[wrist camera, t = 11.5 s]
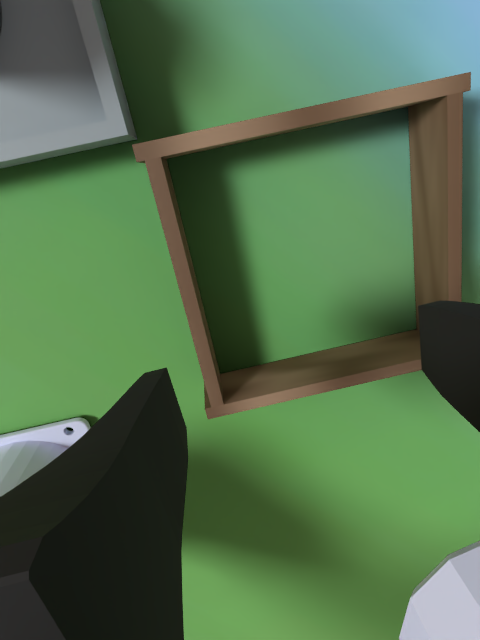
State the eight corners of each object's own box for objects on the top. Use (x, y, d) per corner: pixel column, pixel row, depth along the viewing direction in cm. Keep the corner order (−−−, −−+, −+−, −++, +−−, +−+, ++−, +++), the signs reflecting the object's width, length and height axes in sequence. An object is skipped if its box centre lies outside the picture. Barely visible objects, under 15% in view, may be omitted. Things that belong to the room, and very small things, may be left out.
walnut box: (206, 387, 22) (207, 419, 19) (142, 148, 17) (131, 144, 14) (432, 335, 22) (467, 359, 19) (427, 87, 18) (470, 72, 15)
